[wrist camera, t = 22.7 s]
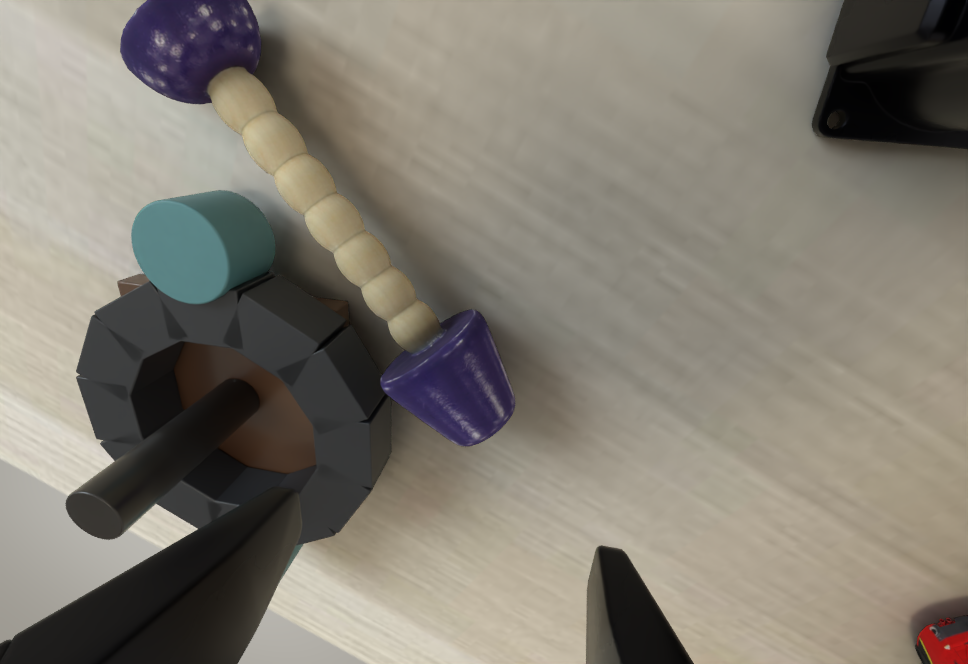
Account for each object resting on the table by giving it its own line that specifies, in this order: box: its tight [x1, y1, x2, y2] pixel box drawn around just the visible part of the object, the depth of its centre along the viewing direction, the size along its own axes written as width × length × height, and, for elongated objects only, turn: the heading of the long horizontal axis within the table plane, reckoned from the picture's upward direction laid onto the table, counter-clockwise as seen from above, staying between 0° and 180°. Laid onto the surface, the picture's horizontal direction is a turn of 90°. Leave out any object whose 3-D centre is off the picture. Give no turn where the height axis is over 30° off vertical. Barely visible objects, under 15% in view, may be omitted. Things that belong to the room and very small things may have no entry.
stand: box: [66, 274, 349, 540], centre depth 18 cm, size 10×10×8 cm
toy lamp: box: [120, 0, 515, 446], centre depth 16 cm, size 5×5×17 cm
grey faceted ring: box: [76, 190, 391, 584], centre depth 20 cm, size 13×19×3 cm
